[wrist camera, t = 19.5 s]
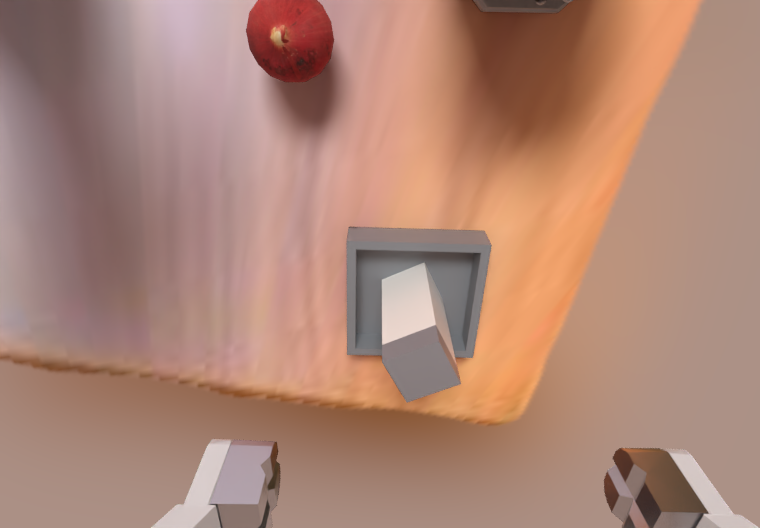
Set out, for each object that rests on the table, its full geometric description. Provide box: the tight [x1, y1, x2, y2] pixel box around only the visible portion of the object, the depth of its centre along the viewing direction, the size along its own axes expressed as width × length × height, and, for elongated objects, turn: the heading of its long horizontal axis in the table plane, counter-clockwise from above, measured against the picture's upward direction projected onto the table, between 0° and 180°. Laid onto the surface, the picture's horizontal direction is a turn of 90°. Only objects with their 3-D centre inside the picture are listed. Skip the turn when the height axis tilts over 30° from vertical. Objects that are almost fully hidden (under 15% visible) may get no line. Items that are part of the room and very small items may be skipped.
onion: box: [246, 0, 334, 82], centre depth 31 cm, size 6×6×8 cm
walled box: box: [347, 227, 491, 358], centre depth 43 cm, size 13×13×3 cm
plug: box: [382, 262, 461, 402], centre depth 39 cm, size 4×4×12 cm
